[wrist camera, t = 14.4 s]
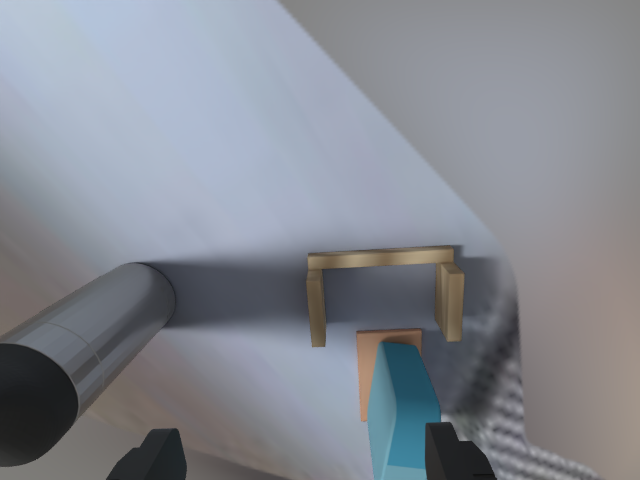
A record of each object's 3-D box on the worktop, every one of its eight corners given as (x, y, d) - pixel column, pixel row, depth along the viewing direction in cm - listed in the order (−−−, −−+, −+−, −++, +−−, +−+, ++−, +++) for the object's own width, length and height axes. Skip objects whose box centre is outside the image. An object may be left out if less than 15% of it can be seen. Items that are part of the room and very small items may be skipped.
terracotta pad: (360, 417, 48) (361, 421, 47) (356, 331, 44) (356, 333, 43) (419, 416, 47) (420, 419, 46) (420, 328, 43) (421, 331, 43)
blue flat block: (399, 417, 46) (420, 509, 35) (366, 413, 47) (376, 503, 35) (415, 339, 43) (444, 413, 32) (379, 335, 43) (395, 407, 32)
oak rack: (314, 324, 44) (312, 347, 39) (308, 253, 41) (304, 268, 36) (447, 318, 43) (461, 341, 38) (449, 245, 40) (465, 259, 35)
